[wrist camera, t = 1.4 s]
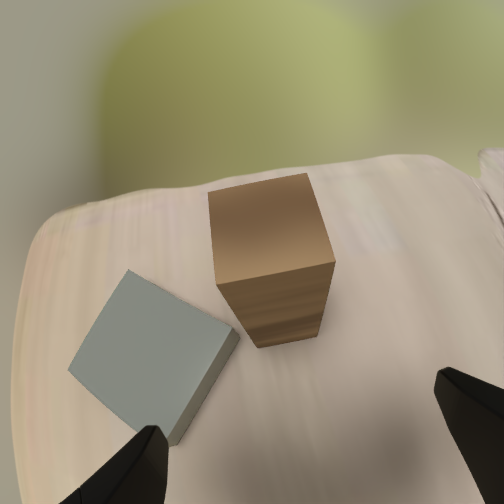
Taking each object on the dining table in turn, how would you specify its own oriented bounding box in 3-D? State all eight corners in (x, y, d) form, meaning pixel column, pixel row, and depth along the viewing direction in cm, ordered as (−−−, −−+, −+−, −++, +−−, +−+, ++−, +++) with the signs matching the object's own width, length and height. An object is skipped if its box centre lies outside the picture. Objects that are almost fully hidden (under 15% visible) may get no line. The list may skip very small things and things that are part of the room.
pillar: (316, 336, 22) (335, 261, 11) (257, 348, 22) (215, 284, 11) (304, 282, 24) (306, 172, 13) (248, 293, 24) (207, 192, 14)
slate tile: (176, 445, 19) (160, 449, 16) (88, 375, 22) (67, 369, 20) (240, 337, 23) (232, 327, 20) (144, 283, 26) (128, 269, 23)
